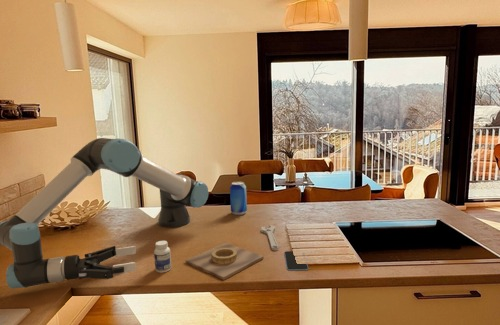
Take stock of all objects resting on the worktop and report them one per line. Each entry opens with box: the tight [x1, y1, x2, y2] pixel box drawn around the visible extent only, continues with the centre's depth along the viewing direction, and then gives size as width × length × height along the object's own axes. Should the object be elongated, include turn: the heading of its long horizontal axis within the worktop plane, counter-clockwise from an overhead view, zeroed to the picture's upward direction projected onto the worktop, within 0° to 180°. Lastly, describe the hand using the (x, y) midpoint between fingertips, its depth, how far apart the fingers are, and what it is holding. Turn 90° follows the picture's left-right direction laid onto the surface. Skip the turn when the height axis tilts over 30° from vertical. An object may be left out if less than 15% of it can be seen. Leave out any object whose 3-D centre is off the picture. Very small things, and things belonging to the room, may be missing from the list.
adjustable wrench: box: [260, 224, 279, 251], centre depth 144 cm, size 25×6×2 cm, turn 0°
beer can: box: [229, 181, 248, 216], centre depth 179 cm, size 8×8×16 cm
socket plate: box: [185, 242, 264, 281], centre depth 125 cm, size 20×20×3 cm
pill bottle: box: [153, 240, 172, 273], centre depth 119 cm, size 5×5×10 cm
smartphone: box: [283, 250, 309, 272], centre depth 123 cm, size 7×1×15 cm
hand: (135, 257), depth 116 cm, fingers open, 13 cm apart
